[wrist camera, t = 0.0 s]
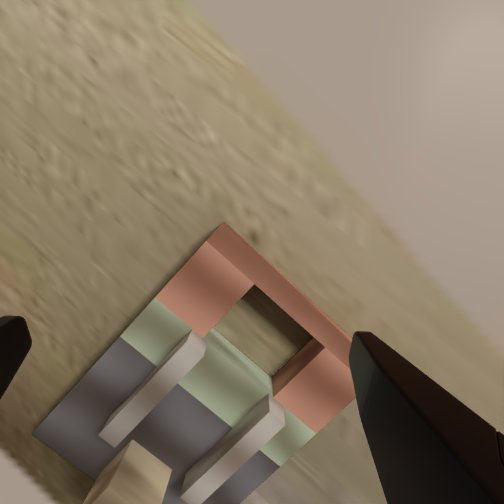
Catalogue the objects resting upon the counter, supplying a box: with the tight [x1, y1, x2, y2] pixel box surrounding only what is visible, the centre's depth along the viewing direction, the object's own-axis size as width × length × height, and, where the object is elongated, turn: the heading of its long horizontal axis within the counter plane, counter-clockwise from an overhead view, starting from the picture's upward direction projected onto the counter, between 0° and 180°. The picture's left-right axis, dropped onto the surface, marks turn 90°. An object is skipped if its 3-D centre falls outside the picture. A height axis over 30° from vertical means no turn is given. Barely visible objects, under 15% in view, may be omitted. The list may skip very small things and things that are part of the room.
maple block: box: [83, 439, 172, 504], centre depth 22 cm, size 4×4×4 cm
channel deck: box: [32, 222, 356, 504], centre depth 24 cm, size 22×16×4 cm
